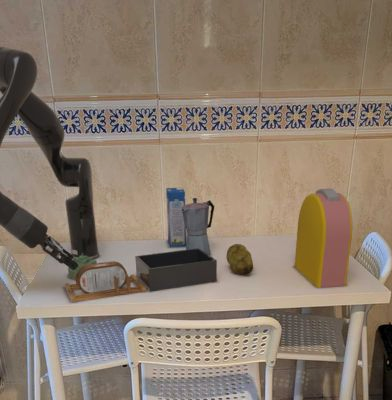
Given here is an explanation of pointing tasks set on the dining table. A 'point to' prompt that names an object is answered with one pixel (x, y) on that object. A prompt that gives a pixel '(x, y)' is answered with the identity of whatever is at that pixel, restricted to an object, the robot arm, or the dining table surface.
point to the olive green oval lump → (239, 259)
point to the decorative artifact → (80, 265)
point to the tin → (100, 276)
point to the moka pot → (197, 224)
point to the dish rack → (117, 291)
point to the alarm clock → (324, 238)
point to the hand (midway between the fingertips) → (73, 263)
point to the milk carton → (176, 217)
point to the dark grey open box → (176, 269)
